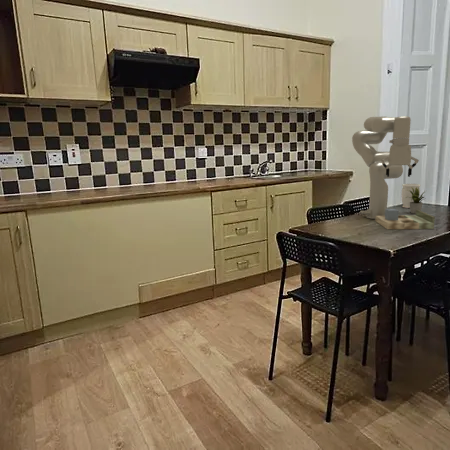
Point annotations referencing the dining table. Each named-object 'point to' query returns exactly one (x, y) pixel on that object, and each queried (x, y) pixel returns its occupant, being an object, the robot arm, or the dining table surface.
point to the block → (391, 214)
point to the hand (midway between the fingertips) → (398, 176)
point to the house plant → (415, 200)
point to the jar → (408, 194)
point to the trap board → (408, 221)
